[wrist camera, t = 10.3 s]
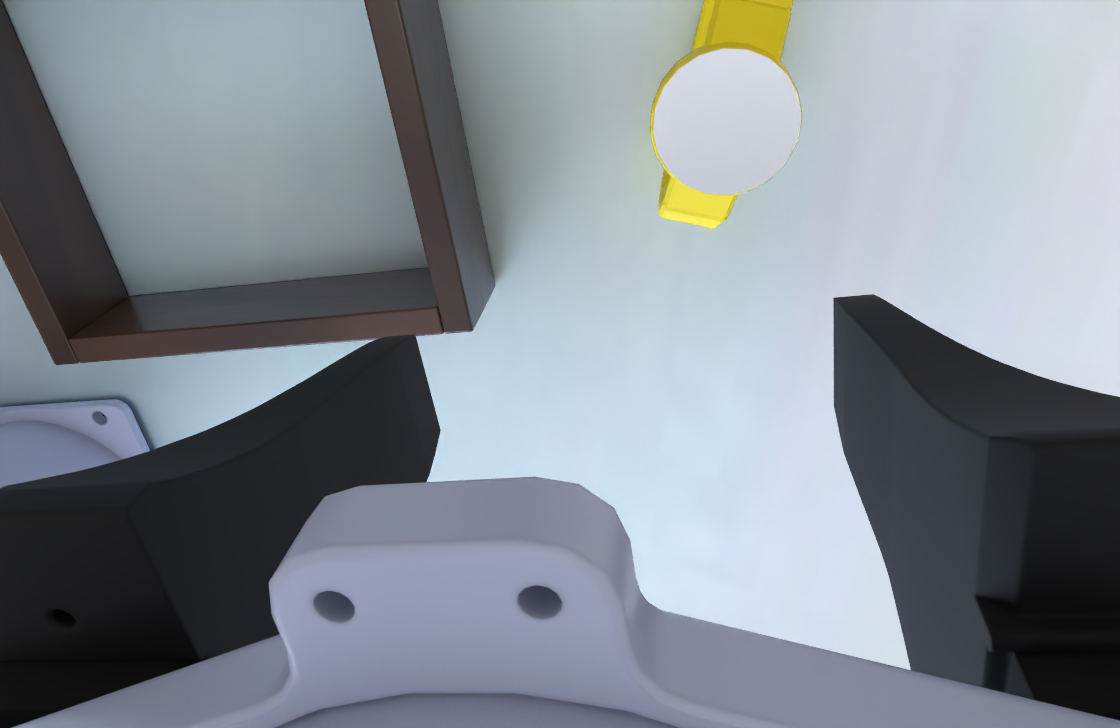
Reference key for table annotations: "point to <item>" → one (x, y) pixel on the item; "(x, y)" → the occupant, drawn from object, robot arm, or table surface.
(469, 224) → the desk tidy
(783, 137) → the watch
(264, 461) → the robot arm
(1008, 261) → the table surface
